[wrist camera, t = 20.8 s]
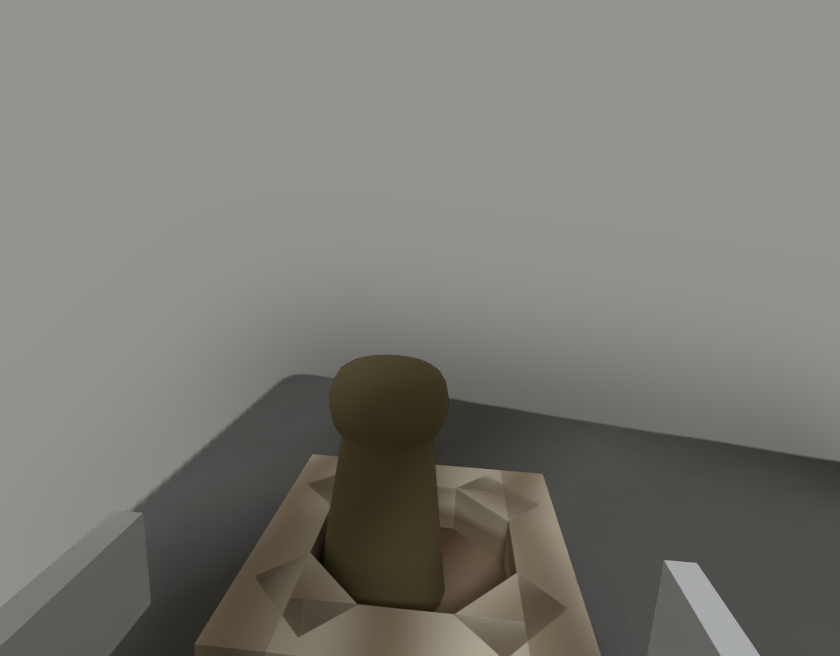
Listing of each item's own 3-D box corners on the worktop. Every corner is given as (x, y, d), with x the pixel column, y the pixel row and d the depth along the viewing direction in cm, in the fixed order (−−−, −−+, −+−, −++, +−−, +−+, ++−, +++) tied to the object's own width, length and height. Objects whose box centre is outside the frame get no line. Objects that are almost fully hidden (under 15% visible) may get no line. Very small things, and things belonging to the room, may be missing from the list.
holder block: (537, 518, 30) (542, 473, 30) (600, 763, 17) (612, 690, 16) (312, 498, 31) (312, 454, 31) (198, 714, 18) (194, 644, 17)
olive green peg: (320, 544, 26) (322, 342, 24) (432, 538, 27) (445, 343, 25) (314, 639, 20) (316, 384, 18) (458, 627, 21) (477, 384, 19)
